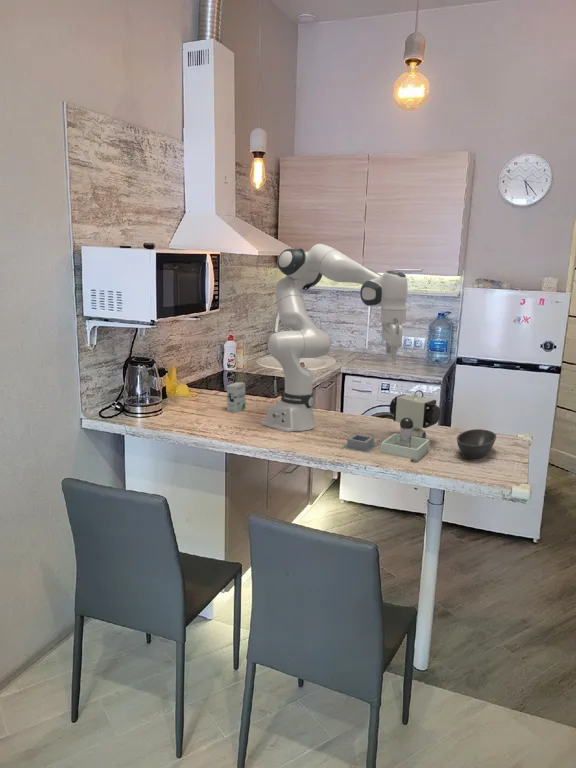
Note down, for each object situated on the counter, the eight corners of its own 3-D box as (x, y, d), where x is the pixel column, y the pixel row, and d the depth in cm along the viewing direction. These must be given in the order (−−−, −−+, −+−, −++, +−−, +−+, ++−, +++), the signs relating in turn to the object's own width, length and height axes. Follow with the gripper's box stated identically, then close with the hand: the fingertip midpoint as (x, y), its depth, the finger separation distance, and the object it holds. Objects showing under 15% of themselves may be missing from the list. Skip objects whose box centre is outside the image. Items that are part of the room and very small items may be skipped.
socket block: (341, 450, 207) (342, 439, 206) (353, 443, 216) (353, 432, 215) (367, 455, 202) (368, 444, 202) (378, 448, 211) (379, 437, 210)
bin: (380, 455, 204) (381, 442, 203) (393, 444, 215) (394, 433, 214) (416, 462, 197) (417, 449, 196) (428, 451, 208) (429, 439, 207)
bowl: (500, 449, 213) (502, 433, 211) (482, 466, 195) (484, 448, 194) (468, 442, 219) (469, 427, 218) (447, 458, 202) (449, 441, 200)
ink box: (236, 406, 263) (236, 381, 260) (246, 408, 261) (246, 382, 258) (226, 411, 255) (226, 385, 253) (236, 412, 253) (236, 386, 251)
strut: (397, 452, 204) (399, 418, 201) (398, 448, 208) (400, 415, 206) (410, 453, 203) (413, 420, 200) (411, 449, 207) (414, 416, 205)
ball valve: (440, 441, 220) (443, 396, 216) (429, 446, 214) (432, 400, 210) (398, 431, 231) (401, 388, 227) (387, 435, 225) (390, 391, 221)
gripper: (407, 321, 196) (405, 361, 199) (396, 314, 216) (394, 351, 219) (389, 320, 196) (386, 360, 199) (379, 314, 216) (377, 351, 219)
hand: (390, 355), depth 209 cm, fingers open, 8 cm apart
